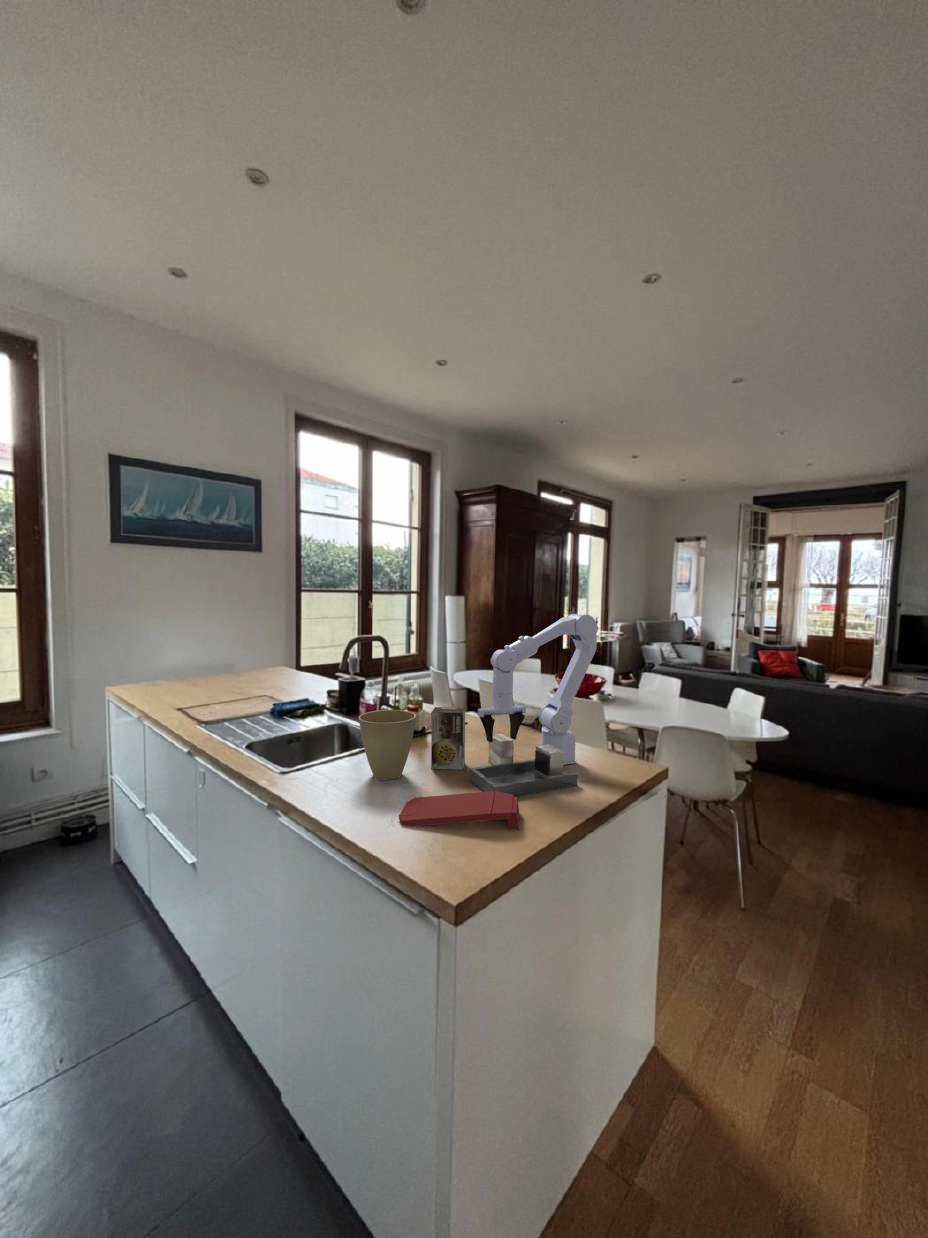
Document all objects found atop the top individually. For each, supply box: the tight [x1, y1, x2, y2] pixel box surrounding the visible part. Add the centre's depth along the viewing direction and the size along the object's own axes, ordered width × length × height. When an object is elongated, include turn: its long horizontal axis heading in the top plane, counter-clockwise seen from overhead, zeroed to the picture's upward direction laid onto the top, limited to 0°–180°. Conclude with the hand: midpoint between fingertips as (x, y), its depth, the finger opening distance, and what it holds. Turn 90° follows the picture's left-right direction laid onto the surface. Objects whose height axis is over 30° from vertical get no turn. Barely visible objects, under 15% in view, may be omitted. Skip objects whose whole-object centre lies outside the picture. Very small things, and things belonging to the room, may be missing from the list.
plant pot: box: [358, 709, 417, 781], centre depth 133 cm, size 15×15×16 cm
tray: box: [468, 744, 579, 797], centre depth 130 cm, size 24×14×8 cm, turn 114°
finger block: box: [487, 733, 515, 765], centre depth 143 cm, size 5×7×8 cm, turn 24°
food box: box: [430, 706, 466, 771], centre depth 141 cm, size 9×6×16 cm
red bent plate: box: [398, 791, 520, 831], centre depth 109 cm, size 12×5×25 cm
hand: (501, 739), depth 143 cm, fingers open, 7 cm apart
